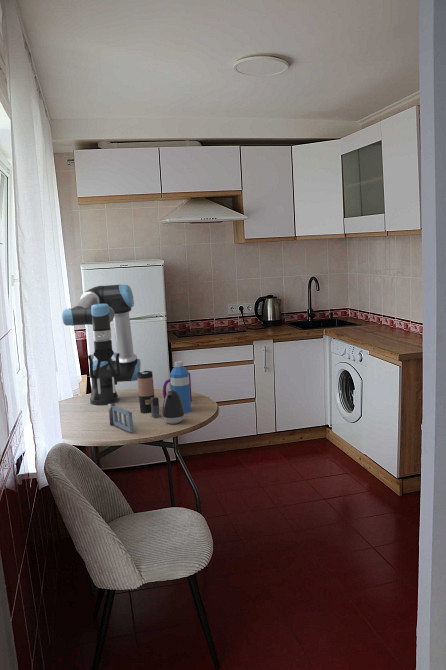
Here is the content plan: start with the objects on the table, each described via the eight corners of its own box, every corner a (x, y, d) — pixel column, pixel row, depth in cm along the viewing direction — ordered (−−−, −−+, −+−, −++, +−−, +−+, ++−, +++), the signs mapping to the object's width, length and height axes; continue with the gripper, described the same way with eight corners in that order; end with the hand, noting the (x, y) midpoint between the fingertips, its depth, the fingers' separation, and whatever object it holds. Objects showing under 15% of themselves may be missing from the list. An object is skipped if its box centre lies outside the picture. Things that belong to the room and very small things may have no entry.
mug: (194, 401, 297) (193, 373, 295) (167, 406, 290) (165, 378, 288) (187, 398, 305) (185, 371, 303) (160, 403, 298) (158, 375, 296)
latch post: (146, 417, 273) (145, 397, 271) (157, 415, 275) (155, 396, 274) (149, 419, 270) (147, 399, 268) (159, 417, 272) (158, 397, 271)
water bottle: (179, 408, 286) (176, 359, 282) (194, 410, 281) (191, 360, 278) (168, 413, 278) (165, 363, 274) (184, 415, 273) (181, 364, 270)
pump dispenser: (159, 425, 258) (157, 392, 256) (167, 418, 268) (165, 387, 266) (180, 426, 256) (178, 393, 253) (188, 419, 265) (186, 387, 263)
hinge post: (109, 424, 264) (107, 403, 263) (115, 423, 265) (113, 402, 264) (110, 425, 262) (109, 404, 260) (116, 424, 263) (115, 403, 261)
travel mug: (152, 413, 279) (149, 373, 276) (137, 413, 280) (134, 373, 278) (157, 409, 286) (154, 370, 283) (142, 409, 288) (140, 370, 285)
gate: (116, 423, 262) (115, 405, 261) (133, 431, 249) (132, 412, 247) (113, 424, 261) (112, 406, 260) (130, 432, 248) (128, 412, 246)
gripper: (79, 342, 238) (83, 396, 241) (124, 339, 240) (128, 393, 243) (81, 340, 246) (86, 392, 249) (125, 337, 248) (129, 389, 251)
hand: (106, 392), depth 246 cm, fingers open, 6 cm apart
